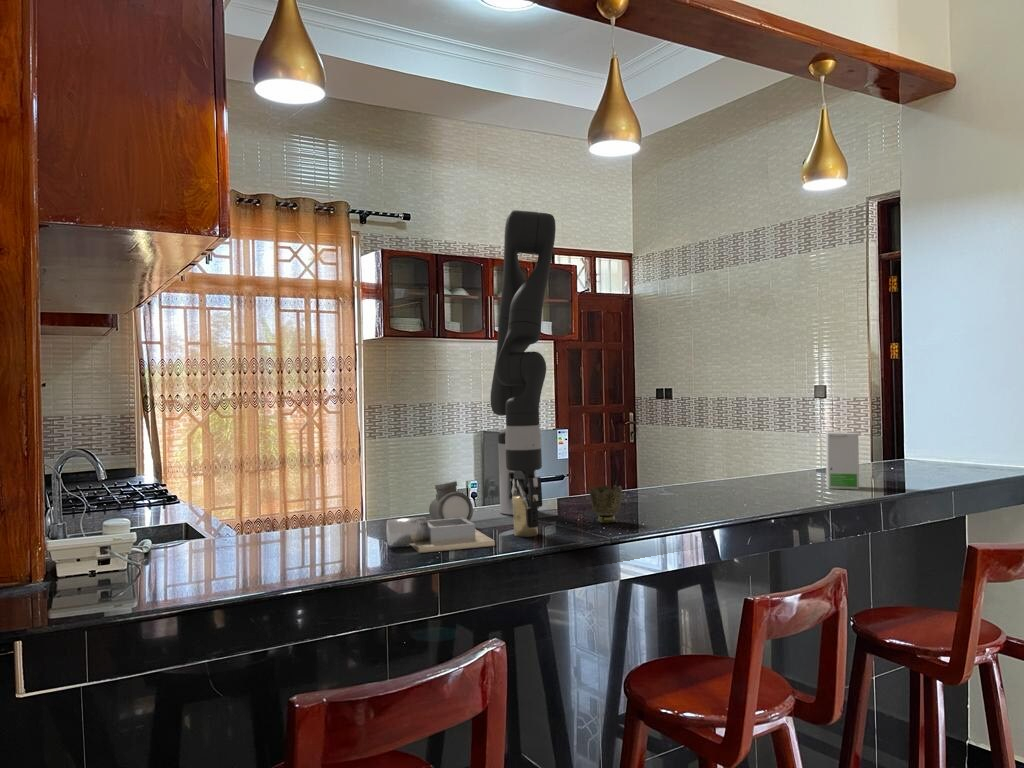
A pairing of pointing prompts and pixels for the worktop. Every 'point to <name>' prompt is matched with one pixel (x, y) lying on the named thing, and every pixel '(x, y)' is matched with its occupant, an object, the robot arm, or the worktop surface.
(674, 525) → the worktop surface
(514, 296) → the robot arm
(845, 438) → the skincare box
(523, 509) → the brass cylinder plug
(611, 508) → the cup
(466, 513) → the pipe fitting
